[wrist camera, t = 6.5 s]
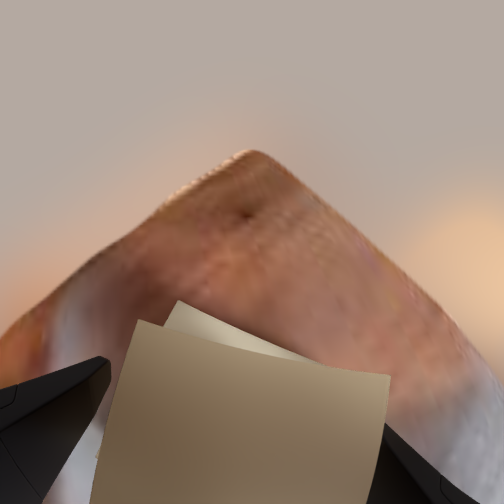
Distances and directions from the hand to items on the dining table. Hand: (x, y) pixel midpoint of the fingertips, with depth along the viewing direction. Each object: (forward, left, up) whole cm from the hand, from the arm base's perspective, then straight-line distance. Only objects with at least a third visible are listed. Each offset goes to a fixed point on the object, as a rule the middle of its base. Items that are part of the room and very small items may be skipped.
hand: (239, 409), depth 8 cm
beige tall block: (-1, -1, -8) cm, 8 cm away
